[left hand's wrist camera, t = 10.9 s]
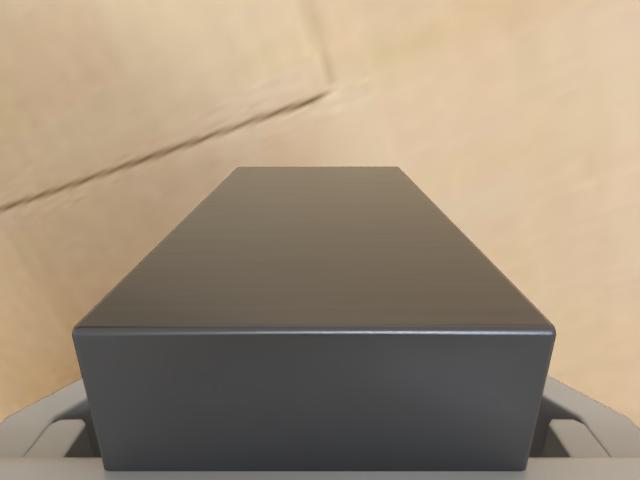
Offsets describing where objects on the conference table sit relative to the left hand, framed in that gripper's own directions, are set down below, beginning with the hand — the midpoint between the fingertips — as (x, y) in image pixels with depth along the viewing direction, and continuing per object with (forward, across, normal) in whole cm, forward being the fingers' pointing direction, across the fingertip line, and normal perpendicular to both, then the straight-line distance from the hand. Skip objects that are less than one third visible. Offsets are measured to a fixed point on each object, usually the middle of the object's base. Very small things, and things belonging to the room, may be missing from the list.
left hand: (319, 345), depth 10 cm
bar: (+4, 0, -10) cm, 11 cm away
